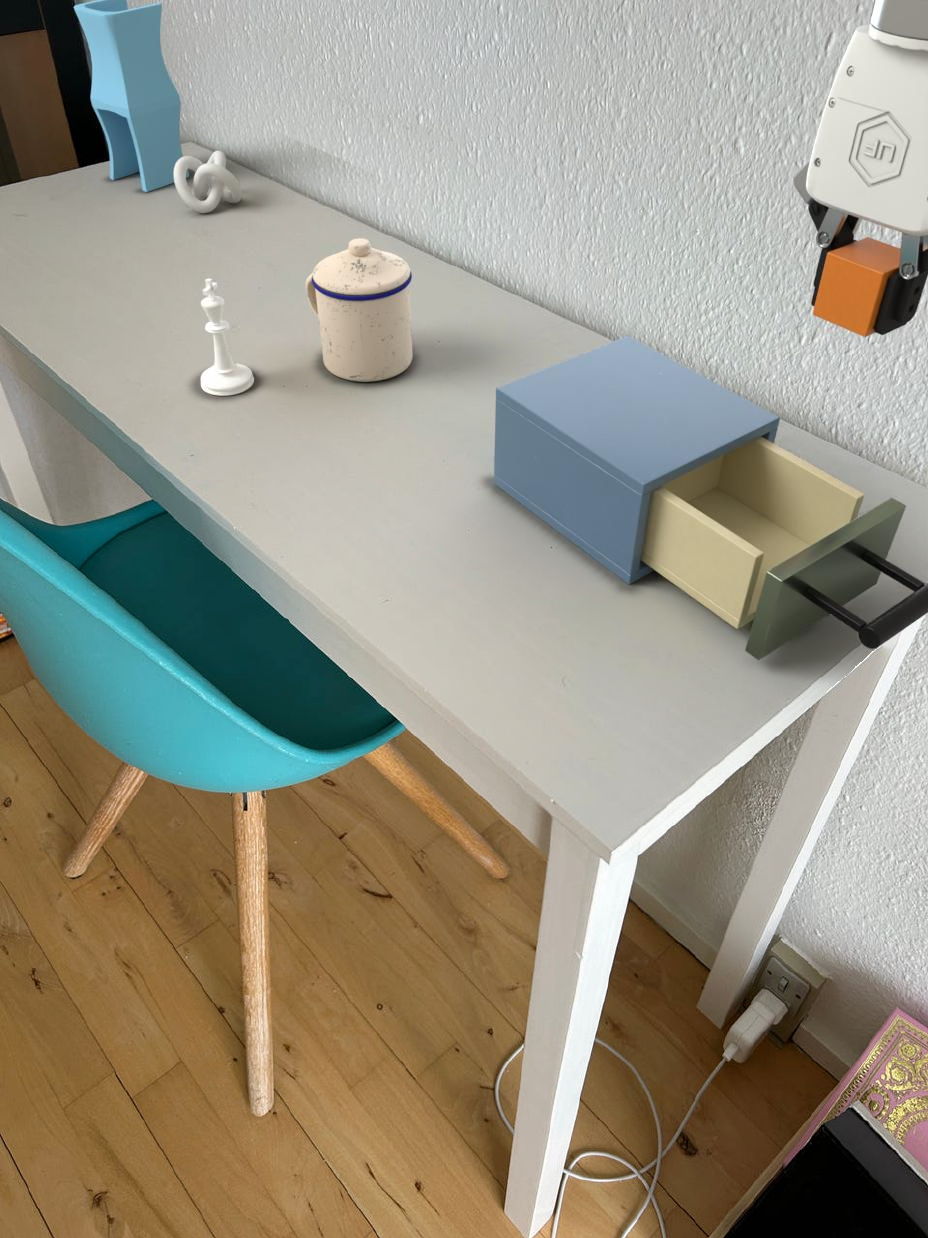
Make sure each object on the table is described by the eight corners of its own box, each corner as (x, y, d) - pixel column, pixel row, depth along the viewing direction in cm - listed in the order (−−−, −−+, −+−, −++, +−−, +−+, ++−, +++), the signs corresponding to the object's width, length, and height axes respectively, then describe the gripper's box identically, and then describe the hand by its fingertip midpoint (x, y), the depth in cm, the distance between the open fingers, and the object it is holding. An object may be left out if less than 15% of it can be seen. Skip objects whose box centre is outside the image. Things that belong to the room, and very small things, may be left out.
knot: (258, 198, 126) (251, 150, 122) (225, 221, 120) (217, 171, 116) (207, 191, 128) (199, 143, 124) (173, 212, 122) (163, 164, 118)
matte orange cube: (904, 319, 67) (924, 256, 64) (865, 337, 65) (883, 273, 62) (851, 297, 70) (867, 236, 67) (811, 314, 68) (827, 251, 65)
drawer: (949, 628, 66) (986, 549, 61) (831, 714, 60) (862, 634, 55) (720, 487, 78) (737, 411, 73) (604, 548, 72) (614, 470, 67)
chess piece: (190, 390, 91) (168, 286, 84) (219, 365, 94) (199, 264, 87) (236, 400, 89) (217, 295, 82) (263, 375, 93) (247, 272, 86)
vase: (194, 175, 132) (162, 3, 118) (146, 191, 127) (108, 15, 114) (157, 162, 135) (122, -6, 122) (109, 178, 131) (68, 5, 117)
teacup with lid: (434, 357, 95) (431, 238, 87) (370, 395, 90) (361, 272, 82) (345, 321, 101) (335, 206, 93) (280, 355, 95) (263, 236, 87)
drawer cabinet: (756, 514, 77) (780, 417, 70) (629, 585, 70) (644, 484, 64) (616, 428, 86) (627, 335, 80) (493, 483, 80) (495, 387, 74)
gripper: (781, -7, 58) (728, 288, 71) (1051, 46, 48) (934, 378, 61) (859, -22, 62) (795, 262, 74) (1127, 25, 52) (1001, 344, 64)
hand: (859, 312), depth 67 cm, fingers closed on matte orange cube, 4 cm apart
